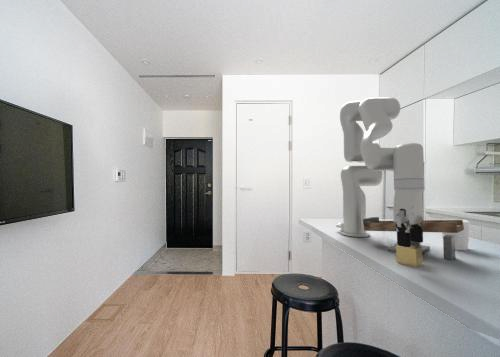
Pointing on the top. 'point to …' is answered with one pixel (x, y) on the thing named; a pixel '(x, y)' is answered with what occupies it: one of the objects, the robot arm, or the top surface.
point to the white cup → (460, 236)
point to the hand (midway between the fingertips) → (410, 243)
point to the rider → (409, 255)
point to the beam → (428, 225)
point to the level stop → (449, 247)
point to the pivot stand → (424, 248)
